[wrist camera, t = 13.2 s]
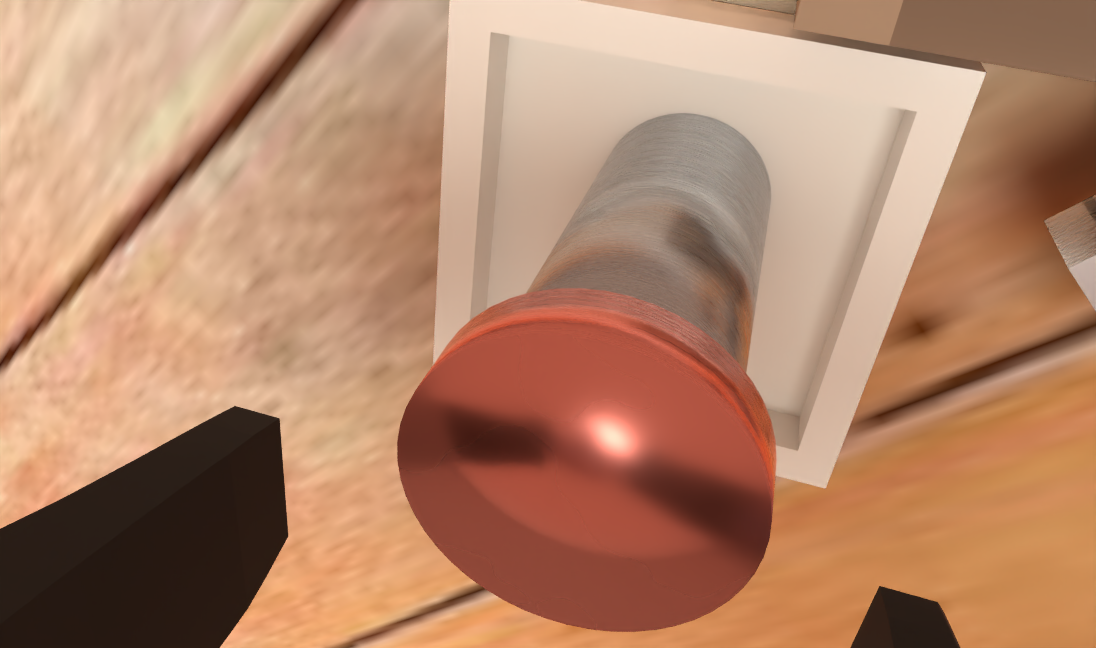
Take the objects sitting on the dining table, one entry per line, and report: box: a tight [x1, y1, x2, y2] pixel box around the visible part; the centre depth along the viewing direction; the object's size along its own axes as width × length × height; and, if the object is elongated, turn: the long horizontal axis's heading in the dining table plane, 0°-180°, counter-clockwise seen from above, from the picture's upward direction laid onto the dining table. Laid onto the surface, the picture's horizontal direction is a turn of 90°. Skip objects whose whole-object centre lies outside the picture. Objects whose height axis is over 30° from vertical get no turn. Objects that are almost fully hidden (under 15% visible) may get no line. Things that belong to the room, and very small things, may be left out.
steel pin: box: [397, 113, 777, 632], centre depth 14 cm, size 4×4×9 cm
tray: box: [433, 0, 986, 489], centre depth 18 cm, size 9×9×2 cm
